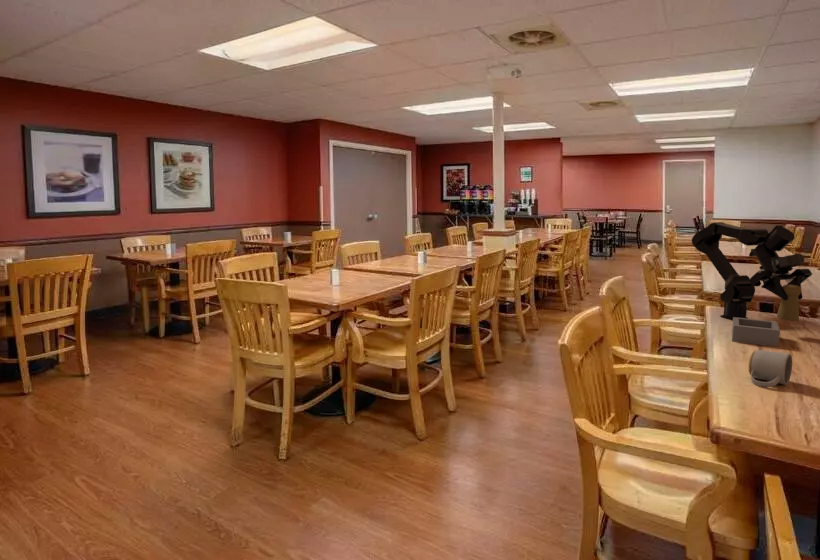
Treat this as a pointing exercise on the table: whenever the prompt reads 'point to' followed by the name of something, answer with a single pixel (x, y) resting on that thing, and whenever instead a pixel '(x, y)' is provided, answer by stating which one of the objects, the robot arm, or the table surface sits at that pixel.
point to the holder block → (755, 331)
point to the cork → (790, 304)
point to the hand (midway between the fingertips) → (793, 299)
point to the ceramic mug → (770, 367)
